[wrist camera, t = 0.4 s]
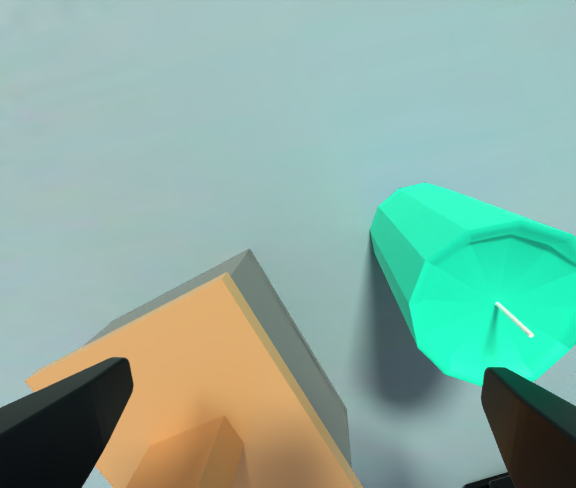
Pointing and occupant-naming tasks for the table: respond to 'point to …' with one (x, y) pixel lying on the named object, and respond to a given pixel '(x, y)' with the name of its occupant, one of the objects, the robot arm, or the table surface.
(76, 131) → the table surface
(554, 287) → the candle
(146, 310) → the tub
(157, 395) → the lid
